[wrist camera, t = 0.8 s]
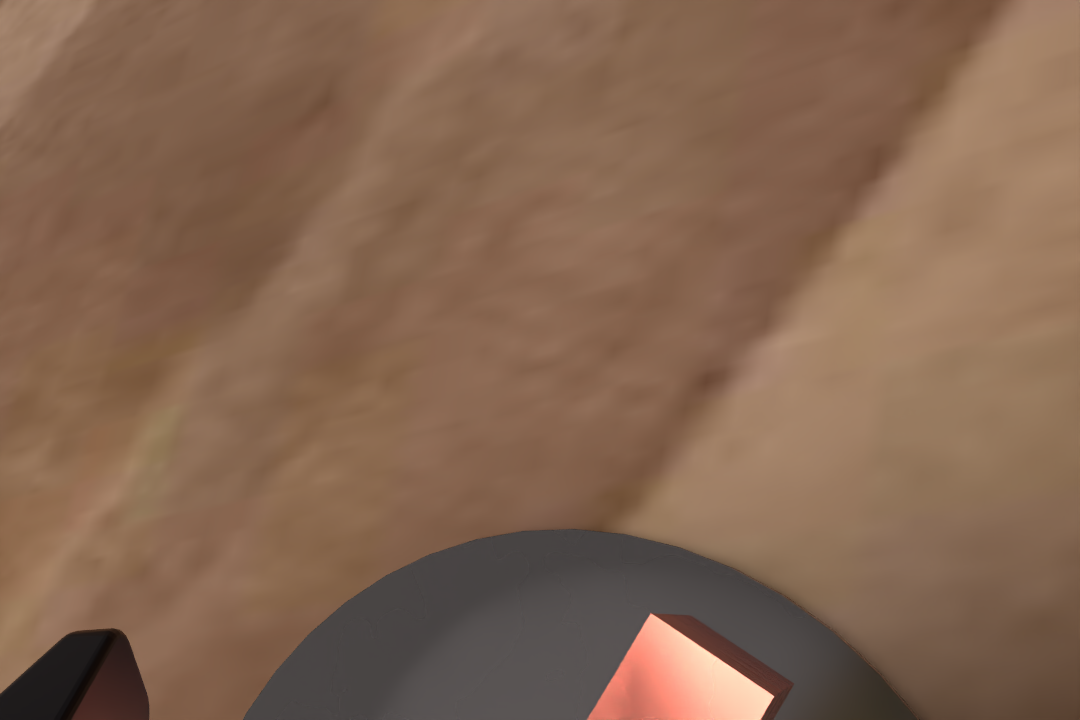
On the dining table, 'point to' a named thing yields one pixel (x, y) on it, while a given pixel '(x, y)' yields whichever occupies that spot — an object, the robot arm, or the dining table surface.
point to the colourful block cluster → (690, 677)
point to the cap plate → (551, 635)
